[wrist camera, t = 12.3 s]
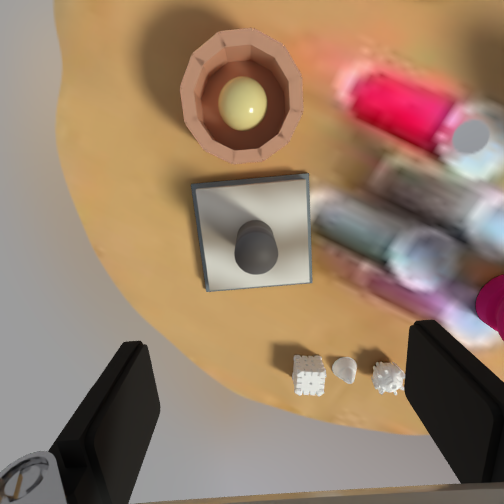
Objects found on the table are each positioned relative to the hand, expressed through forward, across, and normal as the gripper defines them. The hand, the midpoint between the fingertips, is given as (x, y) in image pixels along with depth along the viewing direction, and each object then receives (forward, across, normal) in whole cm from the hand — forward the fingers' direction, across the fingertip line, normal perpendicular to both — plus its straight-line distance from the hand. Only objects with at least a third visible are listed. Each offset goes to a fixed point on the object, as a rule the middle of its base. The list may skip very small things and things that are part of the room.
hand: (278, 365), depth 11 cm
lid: (+20, +1, 0) cm, 20 cm away
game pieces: (+21, -8, +17) cm, 28 cm away
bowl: (+20, +1, -11) cm, 23 cm away
